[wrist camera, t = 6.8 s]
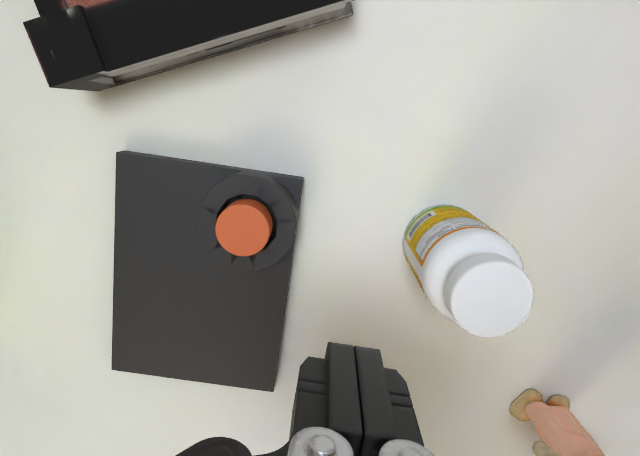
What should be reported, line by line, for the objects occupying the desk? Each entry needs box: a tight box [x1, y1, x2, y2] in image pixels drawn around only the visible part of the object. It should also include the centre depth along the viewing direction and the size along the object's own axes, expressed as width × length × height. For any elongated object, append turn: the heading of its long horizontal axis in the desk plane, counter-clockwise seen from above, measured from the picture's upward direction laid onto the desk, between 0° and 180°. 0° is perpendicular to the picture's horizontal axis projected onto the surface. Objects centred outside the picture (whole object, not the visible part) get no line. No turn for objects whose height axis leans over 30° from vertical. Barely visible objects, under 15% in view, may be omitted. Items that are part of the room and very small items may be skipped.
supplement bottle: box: [403, 205, 534, 338], centre depth 25 cm, size 5×5×10 cm
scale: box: [112, 151, 303, 392], centre depth 29 cm, size 16×12×3 cm
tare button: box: [215, 199, 273, 256], centre depth 26 cm, size 3×3×2 cm
